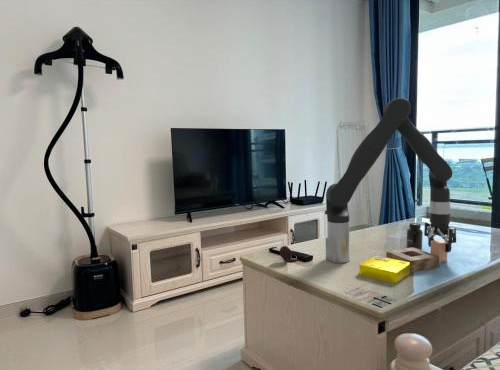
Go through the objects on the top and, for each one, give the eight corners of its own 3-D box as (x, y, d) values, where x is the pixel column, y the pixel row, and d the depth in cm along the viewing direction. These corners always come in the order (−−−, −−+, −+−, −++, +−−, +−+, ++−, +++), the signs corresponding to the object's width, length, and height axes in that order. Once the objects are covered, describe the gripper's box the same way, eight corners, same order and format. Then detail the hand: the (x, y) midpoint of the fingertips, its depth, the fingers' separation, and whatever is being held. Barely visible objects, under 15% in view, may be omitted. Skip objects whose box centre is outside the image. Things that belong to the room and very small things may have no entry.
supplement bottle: (405, 249, 166) (406, 224, 165) (406, 246, 172) (407, 221, 171) (422, 251, 163) (422, 225, 161) (422, 247, 169) (423, 222, 167)
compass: (301, 259, 157) (300, 243, 156) (290, 264, 151) (290, 247, 151) (286, 256, 163) (286, 240, 162) (275, 260, 157) (275, 244, 156)
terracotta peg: (438, 262, 148) (439, 243, 147) (430, 259, 152) (430, 240, 151) (446, 260, 149) (447, 242, 148) (438, 257, 153) (438, 239, 152)
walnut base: (410, 272, 137) (410, 260, 137) (386, 261, 151) (386, 251, 150) (439, 267, 142) (439, 256, 141) (412, 257, 155) (413, 247, 154)
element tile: (357, 275, 137) (357, 263, 137) (374, 265, 148) (374, 253, 147) (395, 284, 127) (396, 271, 126) (411, 273, 137) (412, 261, 137)
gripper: (419, 209, 154) (419, 246, 155) (447, 215, 140) (446, 255, 142) (433, 208, 156) (432, 244, 158) (461, 213, 143) (460, 252, 144)
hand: (439, 249), depth 150 cm, fingers open, 8 cm apart
